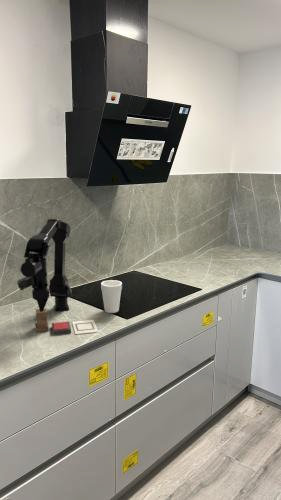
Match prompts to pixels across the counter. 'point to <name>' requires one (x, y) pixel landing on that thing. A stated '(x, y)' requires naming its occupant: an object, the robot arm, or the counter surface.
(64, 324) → the ink pad
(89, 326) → the paper sheet
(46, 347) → the counter surface
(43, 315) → the stamp
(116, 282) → the foam cup
